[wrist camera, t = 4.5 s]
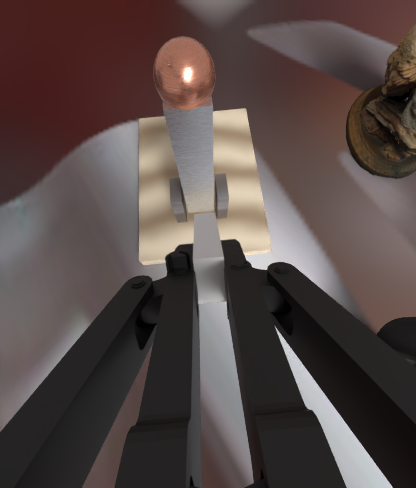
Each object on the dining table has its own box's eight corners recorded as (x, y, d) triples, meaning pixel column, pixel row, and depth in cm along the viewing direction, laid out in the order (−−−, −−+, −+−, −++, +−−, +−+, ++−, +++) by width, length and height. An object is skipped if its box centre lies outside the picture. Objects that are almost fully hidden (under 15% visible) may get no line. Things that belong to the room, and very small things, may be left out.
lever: (216, 212, 28) (218, 63, 12) (185, 215, 28) (146, 70, 12) (213, 185, 29) (211, 17, 13) (184, 188, 29) (145, 23, 13)
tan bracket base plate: (268, 252, 30) (284, 231, 23) (143, 265, 30) (122, 247, 23) (244, 119, 37) (250, 72, 30) (142, 129, 37) (126, 84, 30)
